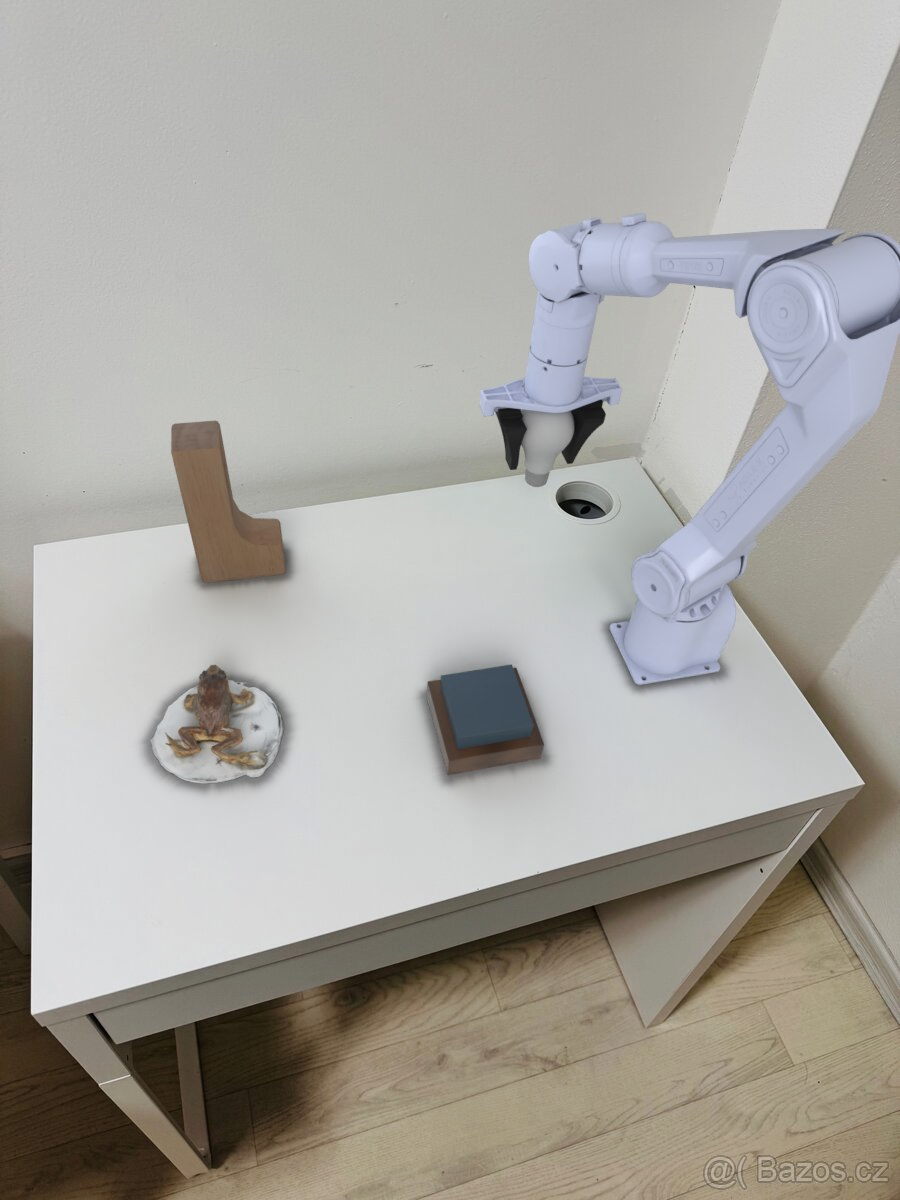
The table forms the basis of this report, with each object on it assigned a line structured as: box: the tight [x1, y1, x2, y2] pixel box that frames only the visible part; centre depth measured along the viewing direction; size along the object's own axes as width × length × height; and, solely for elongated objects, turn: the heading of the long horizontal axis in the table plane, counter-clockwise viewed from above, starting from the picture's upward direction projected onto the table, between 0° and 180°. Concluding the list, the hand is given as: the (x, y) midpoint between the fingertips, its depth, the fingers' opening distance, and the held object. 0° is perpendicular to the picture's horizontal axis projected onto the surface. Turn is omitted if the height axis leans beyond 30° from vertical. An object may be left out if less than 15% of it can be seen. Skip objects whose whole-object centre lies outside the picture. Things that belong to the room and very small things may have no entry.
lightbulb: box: [521, 409, 574, 488], centre depth 90 cm, size 6×6×11 cm
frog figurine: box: [149, 664, 284, 785], centre depth 77 cm, size 12×12×4 cm
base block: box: [425, 667, 545, 776], centre depth 79 cm, size 9×9×2 cm
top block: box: [439, 664, 533, 750], centre depth 78 cm, size 7×7×2 cm
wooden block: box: [170, 420, 287, 584], centre depth 86 cm, size 9×4×18 cm, turn 102°
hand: (539, 461), depth 91 cm, fingers closed on lightbulb, 6 cm apart
